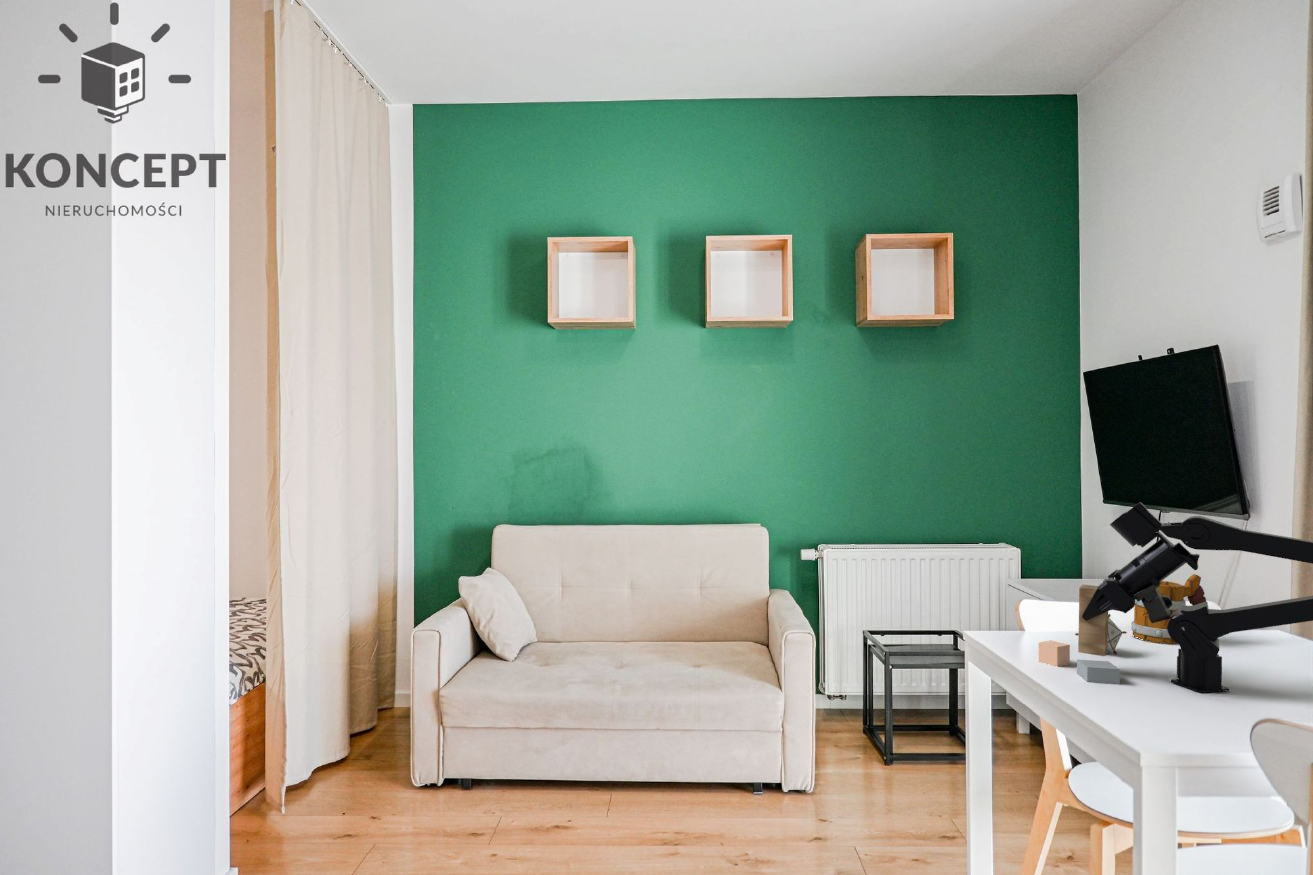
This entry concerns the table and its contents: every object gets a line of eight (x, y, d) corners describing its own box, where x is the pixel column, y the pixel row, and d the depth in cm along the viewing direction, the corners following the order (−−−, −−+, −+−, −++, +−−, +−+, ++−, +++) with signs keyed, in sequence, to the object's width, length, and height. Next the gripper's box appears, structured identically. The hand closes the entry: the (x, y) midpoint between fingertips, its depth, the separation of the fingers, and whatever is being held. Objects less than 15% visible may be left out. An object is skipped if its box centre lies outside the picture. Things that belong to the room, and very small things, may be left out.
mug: (1119, 632, 186) (1120, 569, 186) (1191, 634, 185) (1191, 571, 186) (1146, 644, 175) (1146, 576, 175) (1222, 646, 174) (1222, 578, 175)
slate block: (1108, 677, 149) (1108, 661, 149) (1119, 685, 144) (1119, 668, 144) (1076, 675, 150) (1076, 659, 150) (1087, 683, 145) (1087, 667, 145)
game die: (1102, 667, 169) (1121, 628, 171) (1120, 663, 161) (1140, 622, 163) (1062, 643, 171) (1081, 605, 174) (1078, 638, 163) (1098, 598, 166)
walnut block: (1107, 651, 153) (1108, 587, 153) (1104, 656, 149) (1106, 590, 150) (1081, 647, 156) (1082, 584, 156) (1078, 652, 152) (1079, 587, 152)
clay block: (1069, 664, 157) (1069, 644, 157) (1057, 667, 155) (1057, 646, 155) (1051, 660, 160) (1051, 640, 161) (1038, 662, 158) (1038, 642, 159)
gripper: (1187, 608, 136) (1113, 661, 142) (1190, 593, 151) (1123, 641, 158) (1135, 558, 141) (1065, 611, 147) (1143, 548, 156) (1079, 597, 162)
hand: (1085, 616), depth 153 cm, fingers closed on walnut block, 4 cm apart
